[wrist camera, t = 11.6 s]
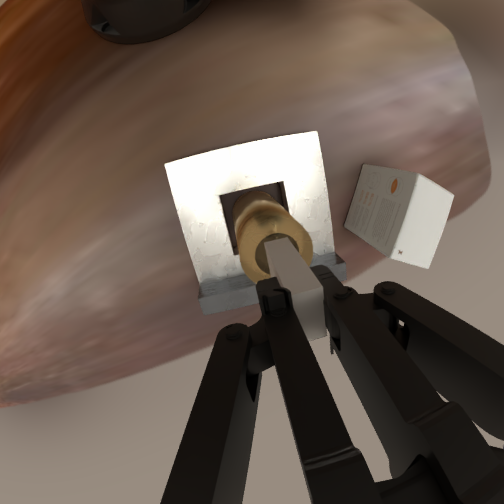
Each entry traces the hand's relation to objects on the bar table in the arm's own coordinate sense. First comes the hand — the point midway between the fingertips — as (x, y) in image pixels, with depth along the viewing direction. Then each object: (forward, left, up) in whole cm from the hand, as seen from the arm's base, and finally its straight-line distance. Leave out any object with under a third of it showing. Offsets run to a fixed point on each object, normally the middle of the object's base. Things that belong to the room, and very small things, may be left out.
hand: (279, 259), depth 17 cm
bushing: (0, 0, -13) cm, 13 cm away
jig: (0, 0, -13) cm, 13 cm away
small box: (+1, +14, -13) cm, 19 cm away
